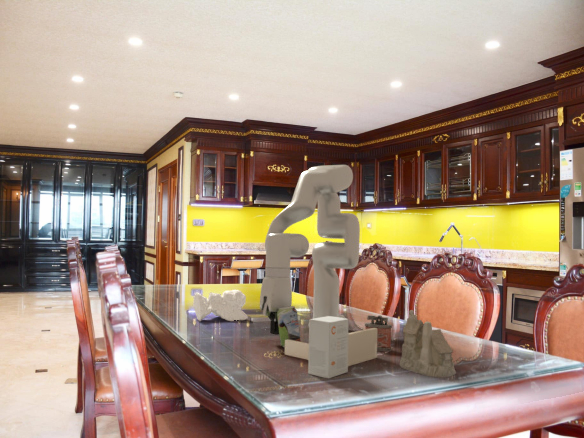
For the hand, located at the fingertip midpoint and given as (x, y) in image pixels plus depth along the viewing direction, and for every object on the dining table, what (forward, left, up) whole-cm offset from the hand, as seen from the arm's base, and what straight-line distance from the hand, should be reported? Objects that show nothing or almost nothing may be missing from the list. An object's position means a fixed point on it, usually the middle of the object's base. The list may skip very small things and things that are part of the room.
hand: (275, 333), depth 150 cm
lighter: (-18, +25, -3) cm, 31 cm away
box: (0, +21, -3) cm, 21 cm away
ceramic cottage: (-9, +46, -4) cm, 47 cm away
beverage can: (0, +5, -3) cm, 6 cm away
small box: (+15, +31, -3) cm, 35 cm away
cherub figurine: (-19, -47, -4) cm, 51 cm away
